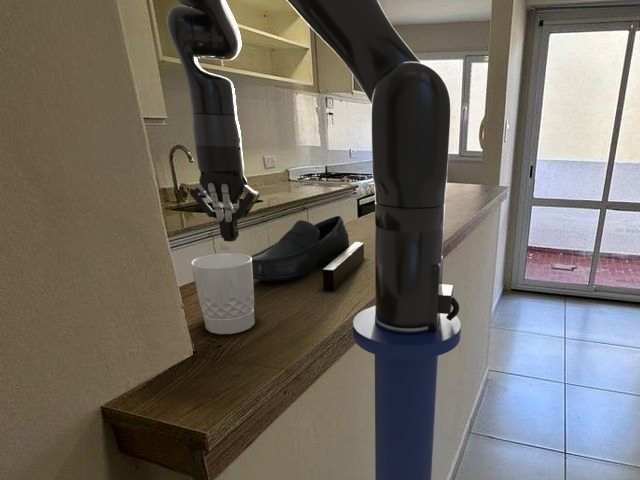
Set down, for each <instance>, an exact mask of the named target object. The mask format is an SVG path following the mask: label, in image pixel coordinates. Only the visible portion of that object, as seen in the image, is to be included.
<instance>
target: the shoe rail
mask: <svg viewBox="0 0 640 480" xmlns="http://www.w3.org/2000/svg"><path fill="white" fill-rule="evenodd" d="M364 260H365V242H360V241H355V242H354V243H353V244H351V245H349V248H348V249H347V250H345V251H344V252H343V253H342V254H341V255H339V256H338V257H337V258H336V259H335V260H333V261H332V262H331V263H330V264H329V265H325V267H324V268H322V285H323V291H326V292H327V291H328V292H330V291H331V292H334V291H335V290H336V289H337V288H339V286H341V285H342V284H343V282H345V281H346V279H347V278H348V277H349V276H350V275H351V274H352V273H353V272H354V271H355V270H356V269H357V268H358V267H359V266H360V265H361V264H362V263H363V261H364Z"/></svg>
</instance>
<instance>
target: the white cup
mask: <svg viewBox="0 0 640 480" xmlns="http://www.w3.org/2000/svg"><path fill="white" fill-rule="evenodd" d="M250 256H251V255H247V254H244V253H238V252H237V253H235V252H222V253H220V252H219V253H211V254H206V255H202V256H201V255H200V256H198V257H196V258H194V259H192V260H191V261H190V266H191V270H192V276H193V280H194V284H195V285H194V286H195V289H196V295H197V299H198V302H199V306H200V310H201V313H202V317H203V321H204V325H205V329H206V330H207V331H208V332H209V333H211V334H216V335H233V334H238V333H242V332H245V331H247V330H250V329H251V328H252V327H253V326H254V325H255V324H256V321H255V320H256V319H255V288H254V287H255V285H254V279H253V269H252V258H251V257H250Z"/></svg>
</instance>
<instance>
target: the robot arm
mask: <svg viewBox="0 0 640 480" xmlns="http://www.w3.org/2000/svg"><path fill="white" fill-rule="evenodd" d="M177 1H178V2H179V4H182V5H174V6H172V7H171V8H170V10H169V11H168V13H167V17H166V29H167V32H168V35H169V38H170V41H171V43H172V46H173V47H174V50H175V52H176V54H177V57H178V59H179V62H180V65H181V67H182V70H183V73H184V76H185V79H186V83H187V88H188V94H189V99H190V107H191V113H192V115H191V116H192V132H193V139H194V148H195V153H196V160H197V167H198V170H199V171H200V176H199V179H198V182H199V183H198V184H197V186H195V187H194V188H190V189H189V190H188V192H189V193H188V194H189V195H190V196H191V197H192V198H193V200H194V201H195V202H196V203H197V204H198V206H199V207H200V208H201V209H202V210H203V211H204V213H205V214H206V215H207V216H208V217H209V218H214V219H216V220H217V221H218V225H219V232H220V237H221V238H222V239H223V241H224V242H231V243H232V242H235V241H237V239H238V238H239V235H240V233H239V225H238V220H240V219H242V218H243V219H244V218H246V217H247V216H248V214H249V213H250V212H251V210H252V208H253V207H254V206H255V204H256V202H257V201H258V199H259V198H260V196H261V193H260V192H259V190H254V189H253V188H251V187H250V186H249V185H248V180H247V178H246V177H245V174H244V173H245V164H244V156H243V154H244V153H243V146H242V141H243V140H242V136H241V129H240V124H239V121H238V114H237V105H236V104H237V103H236V95H235V94H236V93H235V88H234V84H233V82H232V80H230V79H229V78H227V77H225V76H222V75H218V74H214V73H211V72H208V71H206V70H205V69H204V68H202V67H201V65H200V63H199V61H198V59H206V60H217V61H232V60H234V59H236V58H237V56H238V55H239V53H240V51H241V48H242V38H241V33H240V29H239V27H238V23H237V21H236V19H235V17H234V14H233V13H232V11H231V9H230V7H229V5H228V2H227V1H226V0H177ZM286 1H287V3H288V4H289V5H290V6H291V7H292V9H293V10H295V12H296V13H297V14H298V15H299V17H300V18H301V19H302V20H303V21H304V22H305V23H306V24H307V26H309V27H310V28H311V30H313V32H314V33H315V34H316V35H318V37H319V38H321V40H322V41H323V42H324V43H325V44H326V45H327V46H328V47H329V48H330V49H331V50H332V51H333V52H334V53H335V54H336V55H337V56H338V57H339V59H340V60H341V61H342V62H343V63H344V65H345V66H346V67H347V68H348V70H349V71H350V73H351V74H352V76H353V77H354V78H355V80H356V82H357V83H358V85H359V86H360V88H361V90H362V91H363V93H364V94H365V96H366V97H367V99H368V101H369V102H370V104H371V113H370V114H371V115H370V117H371V118H370V119H371V121H370V122H371V159H372V160H371V162H372V163H371V165H372V166H371V169H372V170H371V171H372V180H373V185H374V201H375V202H374V231H375V232H374V241H375V242H374V243H375V244H374V245H375V246H374V247H375V248H374V255H375V257H374V258H375V260H374V263H375V264H374V265H375V269H374V270H375V273H374V274H375V275H374V277H375V280H374V281H375V285H374V286H375V289H374V290H375V291H374V292H375V293H374V294H375V306H376V307H375V313H376V314H375V324H376V325H377V326H378V327H379V328H380V329H382V330H384V331H387V332H390V333H394V334H401V335H416V334H423V333H428V332H431V333H436V332H437V328H438V325H439V320H440V313H442V314H448V315H447V316H446V318H447V319H448V320H450V321H451V320H452V319H453V318H454V317H455V316H457V315H458V314H459V312H460V304H459V302H458V300H457V299H456V298H455V297H454V285H452V284H443V276H444V275H443V274H444V273H443V272H444V256H443V248H444V246H443V245H444V230H445V229H444V226H445V209H446V206H445V205H446V194H447V182H448V168H449V167H448V165H449V150H450V136H451V135H450V134H451V117H452V115H451V114H452V102H451V95H450V92H449V88H448V86H447V84H446V82H445V81H444V79H443V77H442V76H441V75H440V74H439V73H438V72H437V71H436V70H435V69H434V68H432V67H431V66H429V65H427V64H425V63H422V62H421V60H419V58H418V57H417V56H416V55H415V54H414V52H413V51H412V50H411V48H410V47H409V46H408V45H407V43H406V42H405V41H404V40H403V39H402V37H401V36H400V35H399V33H398V31H396V29H395V28H394V27H393V25H392V23H391V21H390V20H389V18H388V17H387V16H386V15H387V14H386V13H385V12H384V10H383V8H382V5H381V4H380V2H379V0H286ZM241 198H243V200H242V202H241V203H240V199H241Z"/></svg>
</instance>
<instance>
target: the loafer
mask: <svg viewBox="0 0 640 480" xmlns="http://www.w3.org/2000/svg"><path fill="white" fill-rule="evenodd" d="M349 247H350V239H349V233H348V232H347V229H346V224H345V221H344V219H343V217H341V215H335V216H332V217H330V218H329V217H328V218H327V219H325V220H322V221H319V222H317V223H315V224H313V223H311V222H310V221H307V220H303V219H298V220H297V221H295V223H294V224H293V226H292V227H291V228H290V229H288V231H287V232H285V234H283V236H282V237H281V238H280V239H279V240H278V241H276V242H275V243H274V244H272V245H270V246H268V247H267V248H265V249H263V250H261V251H259V252H257V253H254V254H252V255H249V256H250V257H251V258H252V269H253V280H257V281H266V282H274V281H276V282H279V281H280V282H281V281H291V280H295V279H296V280H297V279H299V278H303V277H305V276H306V274H308V273H309V272H310V271H312V270H313V269H314V267H317V266H327V265H329V264H330V263H331V262H332V261H333V260H335V259H336V258H337V257H338V256H339V255H341V254H342V253H343V252H344V251H345V250H347V249H348V248H349Z"/></svg>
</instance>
